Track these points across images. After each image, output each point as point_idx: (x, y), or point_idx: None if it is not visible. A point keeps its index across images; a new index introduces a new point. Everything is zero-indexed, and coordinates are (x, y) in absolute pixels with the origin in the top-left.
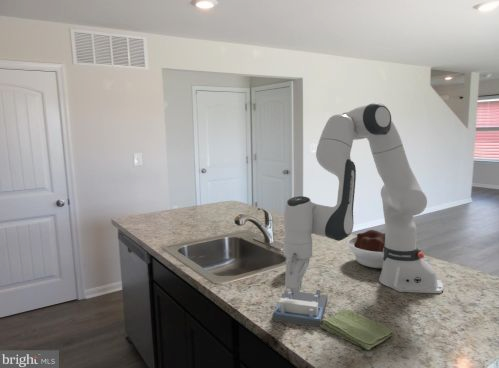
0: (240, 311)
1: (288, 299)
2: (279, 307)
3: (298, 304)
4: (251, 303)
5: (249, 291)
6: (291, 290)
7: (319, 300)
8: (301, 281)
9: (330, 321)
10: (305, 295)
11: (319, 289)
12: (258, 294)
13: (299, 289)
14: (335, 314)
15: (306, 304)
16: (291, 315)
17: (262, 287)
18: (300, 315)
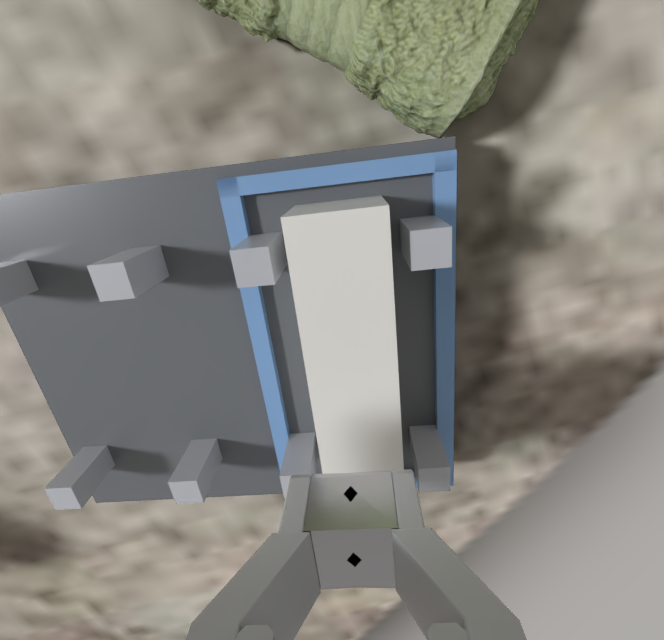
0: None
1: None
2: None
3: (397, 384)
4: None
5: (186, 619)
6: (99, 477)
7: (92, 245)
8: (268, 579)
9: (487, 11)
10: (80, 370)
11: None
12: (192, 581)
13: (417, 505)
14: (272, 15)
15: (370, 319)
16: (453, 379)
17: (105, 587)
18: (438, 321)
